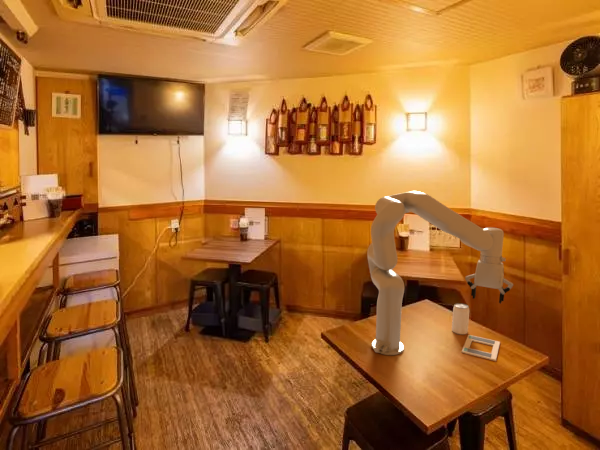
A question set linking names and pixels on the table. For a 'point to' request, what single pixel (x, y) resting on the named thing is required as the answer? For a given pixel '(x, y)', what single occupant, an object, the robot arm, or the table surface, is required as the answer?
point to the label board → (481, 354)
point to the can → (460, 318)
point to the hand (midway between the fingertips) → (486, 300)
